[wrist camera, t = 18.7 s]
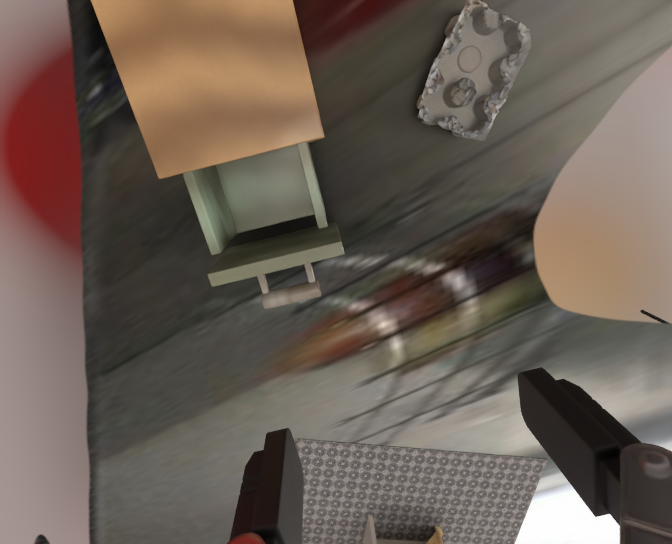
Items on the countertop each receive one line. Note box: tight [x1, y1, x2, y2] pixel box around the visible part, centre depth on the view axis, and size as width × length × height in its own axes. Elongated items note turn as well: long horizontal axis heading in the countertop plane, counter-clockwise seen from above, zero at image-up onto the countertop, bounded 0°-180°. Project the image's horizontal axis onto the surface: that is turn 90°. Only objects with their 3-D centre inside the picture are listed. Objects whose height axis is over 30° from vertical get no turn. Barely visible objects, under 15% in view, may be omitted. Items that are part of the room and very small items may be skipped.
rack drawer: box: [182, 142, 344, 309], centre depth 35 cm, size 19×12×9 cm, turn 13°
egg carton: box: [417, 0, 531, 141], centre depth 36 cm, size 11×8×4 cm
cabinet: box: [91, 0, 324, 179], centre depth 31 cm, size 16×13×11 cm
